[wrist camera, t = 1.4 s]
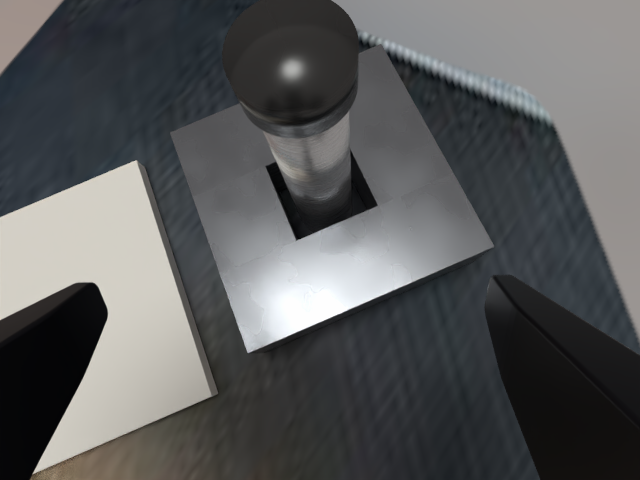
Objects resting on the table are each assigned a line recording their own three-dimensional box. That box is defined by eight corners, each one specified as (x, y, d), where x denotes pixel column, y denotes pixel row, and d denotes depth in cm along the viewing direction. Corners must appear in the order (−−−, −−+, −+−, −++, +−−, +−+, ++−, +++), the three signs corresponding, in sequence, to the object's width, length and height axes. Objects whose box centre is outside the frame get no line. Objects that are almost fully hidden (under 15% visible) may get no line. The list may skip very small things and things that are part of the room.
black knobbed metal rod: (367, 224, 23) (381, 75, 10) (308, 249, 23) (249, 130, 10) (342, 169, 24) (325, -27, 11) (284, 194, 24) (204, 23, 11)
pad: (218, 393, 21) (211, 396, 20) (-35, 503, 21) (-54, 511, 20) (144, 167, 25) (136, 160, 24) (-71, 258, 25) (-89, 254, 24)
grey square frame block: (473, 262, 22) (494, 246, 18) (265, 352, 22) (247, 353, 18) (377, 84, 25) (381, 44, 22) (195, 161, 25) (170, 132, 21)
